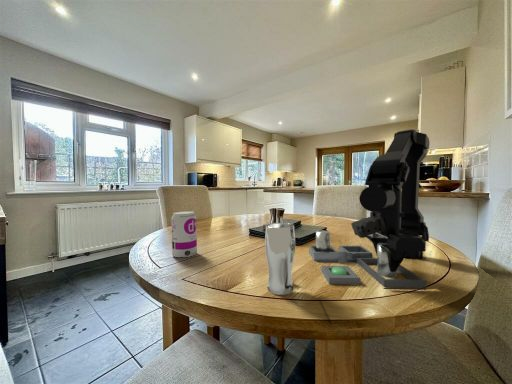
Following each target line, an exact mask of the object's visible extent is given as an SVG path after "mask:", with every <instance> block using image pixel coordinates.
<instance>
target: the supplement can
mask: <svg viewBox="0 0 512 384" xmlns="http://www.w3.org/2000/svg"><path fill="white" fill-rule="evenodd" d="M197 225H198V224H197V215H196V213H195V211H192V210H191V211H189V210H188V211H183V210H182V211H175V212H173V214H172V216H171V245H172V246H171V249H172V250H171V253H172V256H174V257H175V258H176V257H188V258H191V257H190V256H192V257H194V256H195V255H196V254H197V252H198V238H197V237H198V235H197V234H198V233H197ZM193 255H194V256H193Z"/></svg>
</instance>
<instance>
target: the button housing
mask: <svg viewBox="0 0 512 384" xmlns="http://www.w3.org/2000/svg"><path fill="white" fill-rule="evenodd" d="M334 267H340V268H344V269H346V270H347V275H333V274H332V268H334ZM321 273H322V275H323V277H324V278H325V280H326V282H327V283H328V284H329V285H360V283H361V278H360V276H359V275H358V274H356V272H355V271H353V269H352V268H351V267H350V266H349V265H321Z"/></svg>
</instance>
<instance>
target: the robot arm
mask: <svg viewBox="0 0 512 384" xmlns="http://www.w3.org/2000/svg"><path fill="white" fill-rule="evenodd" d="M428 150H430V138H429V136H428V135H427V133H423V132H419V131H417V130H416V129H412V128H411V129H406V130H399V131H396V132H395V133H394V135H393V139H392V142H390V144H389V146H388V148H387V150H386V152H385V153H384V154H381V155H379V156H377V157H376V158H375V159H374V160H373V162H372V163H371V165H370V166H369V169H368V173H367V174H366V175H367V176H366V177H365V182H364V186H367V187H365V188H364V189H363V190H362V191H361V192H360V194H359V203H360V206H362V208H364V210H366V211H369V212H370V213H369V215H370V216H368V217H365V218H361V219H359V220H356V221H353V222H351V227H352V230H353V233H354V235H355V236H358V237H359V238H360V239H365V238H366V239H368V241H370V242H371V243H372V244H373V247H374V251H375V254H376V255H377V244H378V243H388V245H382V246H383V247H384V248H385V249H386V250H387V252H388V262H389V269H390V271H391V272H395V271H396V270H397V268H398V267H399V265H401V264H402V262H403V261H404V259H405V260H427V258H426V257H424V252H426V250H427V248H426V247H427V246H426V245H427V244H426V243H427V242H429V241H430V234H429V228H428V226H427V223H426V222H425V221H424V219H425V218H424V215H423V214H422V212H421V211H420V210H419V194H420V193H419V189H420V167H421V163H422V162H423V161H424V160H425V158H426V157H427V153H428V152H427V151H428Z"/></svg>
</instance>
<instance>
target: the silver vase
mask: <svg viewBox="0 0 512 384" xmlns="http://www.w3.org/2000/svg"><path fill="white" fill-rule="evenodd" d="M264 233H265V236H264V249H265V256H266V257H265V258H266V261H267V267H268V281H267V286H266V287H267V290H268V291H269V292H270V293H271V294H273V295H275V296H288V295H289V294H292V293H293V291H294V282H293V278H292V272H293V267H294V266H293V265H294V259H295V253H296V251H295V250H296V236H295V225H294V224H292V223H289V222H270V223H267V224H266V225H265V232H264Z"/></svg>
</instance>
